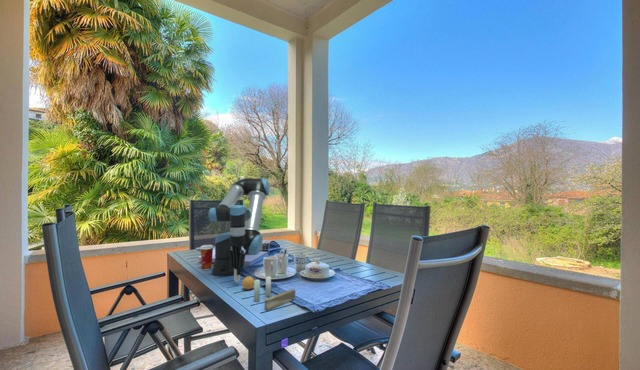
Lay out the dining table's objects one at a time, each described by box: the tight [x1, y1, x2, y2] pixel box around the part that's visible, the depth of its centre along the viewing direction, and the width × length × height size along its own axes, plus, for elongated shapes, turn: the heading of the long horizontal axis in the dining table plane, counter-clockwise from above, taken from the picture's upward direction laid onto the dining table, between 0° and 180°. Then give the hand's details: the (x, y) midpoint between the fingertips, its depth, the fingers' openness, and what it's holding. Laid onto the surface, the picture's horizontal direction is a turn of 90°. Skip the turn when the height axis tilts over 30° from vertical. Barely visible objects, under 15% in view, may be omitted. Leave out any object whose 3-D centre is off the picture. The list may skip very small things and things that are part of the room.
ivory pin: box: [265, 275, 272, 299], centre depth 131 cm, size 2×2×9 cm
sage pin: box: [253, 279, 261, 303], centre depth 126 cm, size 2×2×9 cm
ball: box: [241, 276, 255, 290], centre depth 140 cm, size 6×6×6 cm
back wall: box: [264, 288, 296, 311], centre depth 122 cm, size 2×16×4 cm, turn 141°
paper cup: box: [199, 244, 214, 270], centre depth 175 cm, size 8×8×14 cm
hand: (237, 280), depth 146 cm, fingers closed
